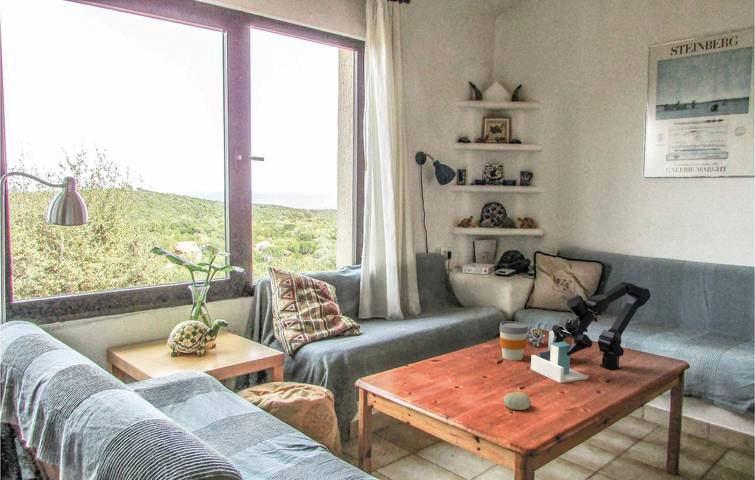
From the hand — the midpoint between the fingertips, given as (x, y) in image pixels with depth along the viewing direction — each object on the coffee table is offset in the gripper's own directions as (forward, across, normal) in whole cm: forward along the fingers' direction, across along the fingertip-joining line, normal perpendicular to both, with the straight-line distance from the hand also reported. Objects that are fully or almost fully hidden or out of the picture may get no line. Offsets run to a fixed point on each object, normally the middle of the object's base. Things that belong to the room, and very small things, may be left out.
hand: (559, 351), depth 233 cm
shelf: (+6, -2, +8) cm, 10 cm away
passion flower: (-6, -41, +21) cm, 46 cm away
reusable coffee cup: (+9, -27, +5) cm, 29 cm away
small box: (-3, -16, +17) cm, 24 cm away
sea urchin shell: (+33, +21, -19) cm, 43 cm away
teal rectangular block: (+6, 0, +6) cm, 9 cm away
